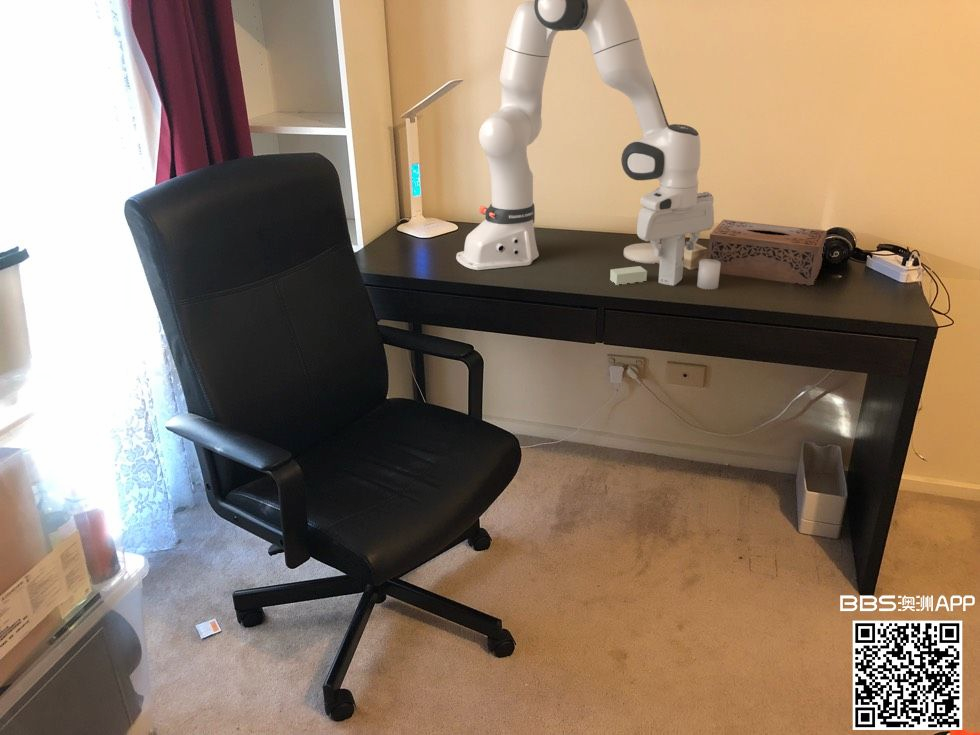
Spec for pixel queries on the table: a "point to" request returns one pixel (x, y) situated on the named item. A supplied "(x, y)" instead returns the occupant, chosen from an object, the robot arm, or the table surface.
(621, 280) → the sage brick
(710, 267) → the grey plastic cylinder
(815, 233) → the tissue box cover
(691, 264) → the birch block
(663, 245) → the skincare box
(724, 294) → the table surface
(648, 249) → the cream saucer
